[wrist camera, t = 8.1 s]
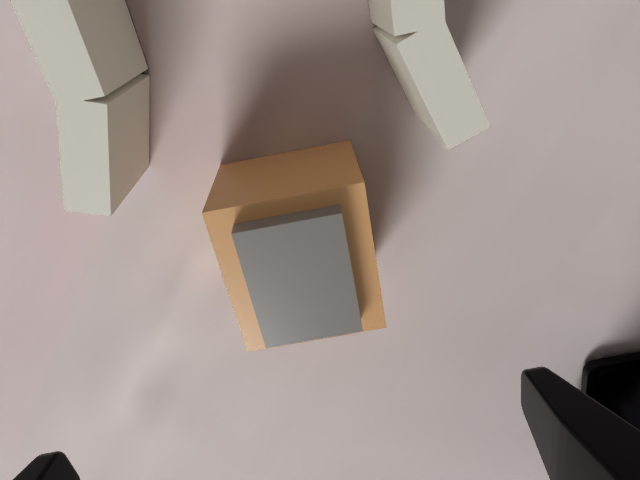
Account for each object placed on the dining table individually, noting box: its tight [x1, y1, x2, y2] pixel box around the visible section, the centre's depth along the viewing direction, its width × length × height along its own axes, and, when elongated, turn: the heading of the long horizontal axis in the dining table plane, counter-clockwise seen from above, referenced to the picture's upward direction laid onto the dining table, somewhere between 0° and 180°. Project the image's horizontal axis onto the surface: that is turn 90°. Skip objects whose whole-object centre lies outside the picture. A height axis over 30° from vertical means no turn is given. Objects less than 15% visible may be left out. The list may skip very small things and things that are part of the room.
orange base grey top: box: [202, 140, 386, 352], centre depth 16 cm, size 4×5×5 cm
